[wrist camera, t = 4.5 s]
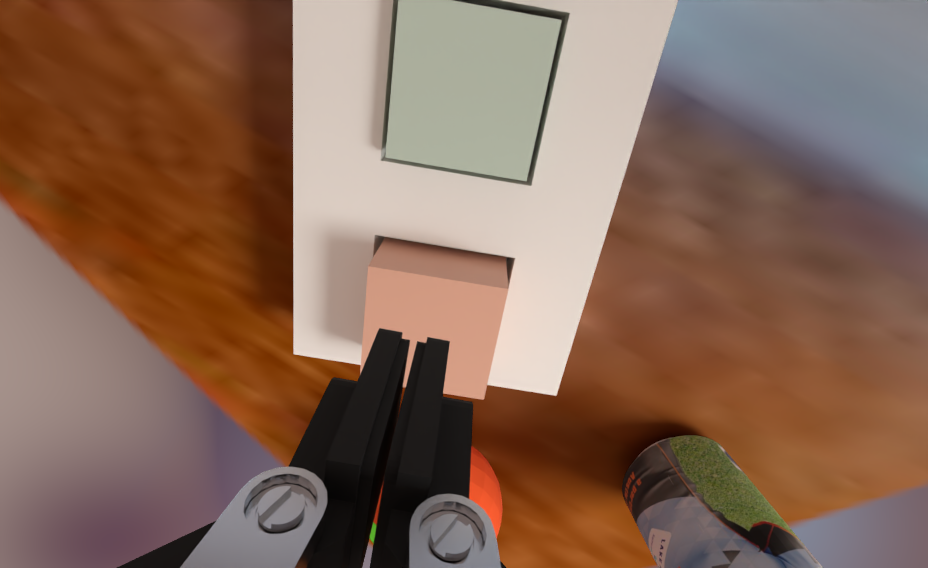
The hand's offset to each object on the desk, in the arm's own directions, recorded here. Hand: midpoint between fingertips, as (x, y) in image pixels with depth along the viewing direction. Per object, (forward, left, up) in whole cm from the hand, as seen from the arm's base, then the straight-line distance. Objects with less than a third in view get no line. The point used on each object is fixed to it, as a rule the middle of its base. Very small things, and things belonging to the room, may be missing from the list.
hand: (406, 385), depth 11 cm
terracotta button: (0, +2, -9) cm, 9 cm away
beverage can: (-15, +11, -12) cm, 22 cm away
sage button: (0, -6, -11) cm, 12 cm away
